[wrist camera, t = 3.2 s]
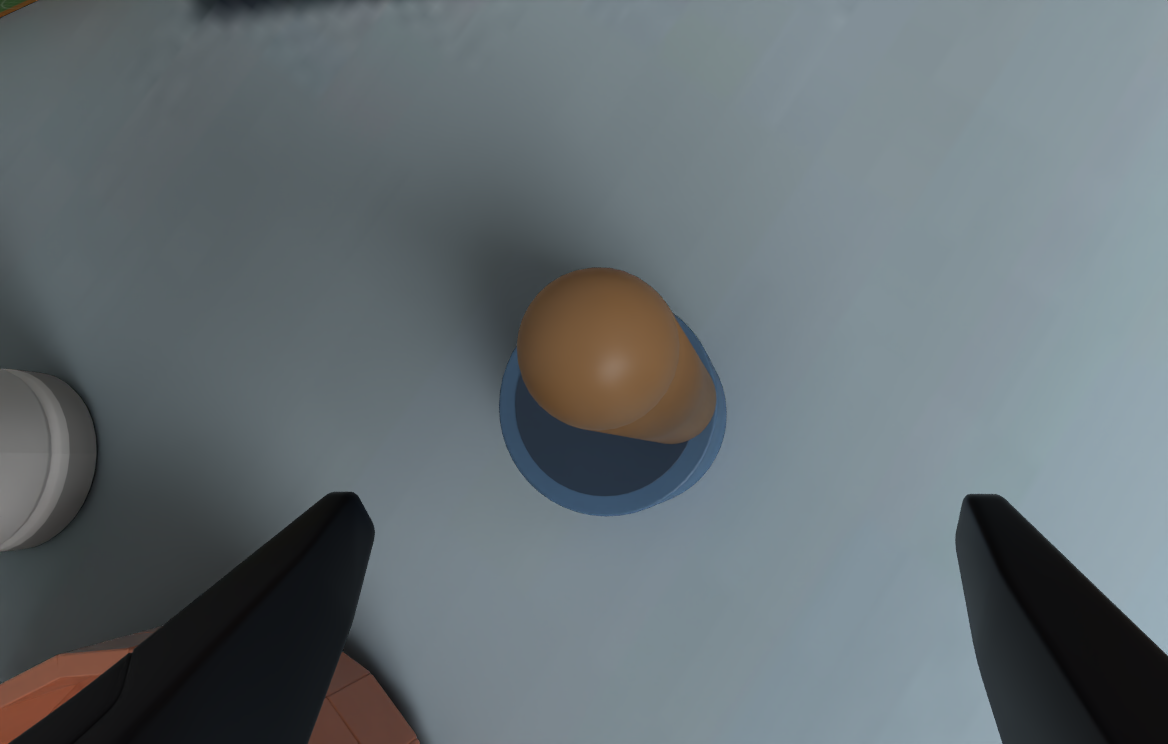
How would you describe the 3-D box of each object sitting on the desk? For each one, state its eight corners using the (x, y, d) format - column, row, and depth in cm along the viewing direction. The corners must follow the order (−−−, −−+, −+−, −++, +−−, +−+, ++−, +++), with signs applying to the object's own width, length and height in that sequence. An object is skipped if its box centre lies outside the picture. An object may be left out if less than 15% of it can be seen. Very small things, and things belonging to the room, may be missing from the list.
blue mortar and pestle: (723, 319, 20) (663, 99, 8) (729, 506, 19) (674, 582, 7) (547, 329, 21) (260, 152, 9) (547, 505, 20) (238, 568, 8)
